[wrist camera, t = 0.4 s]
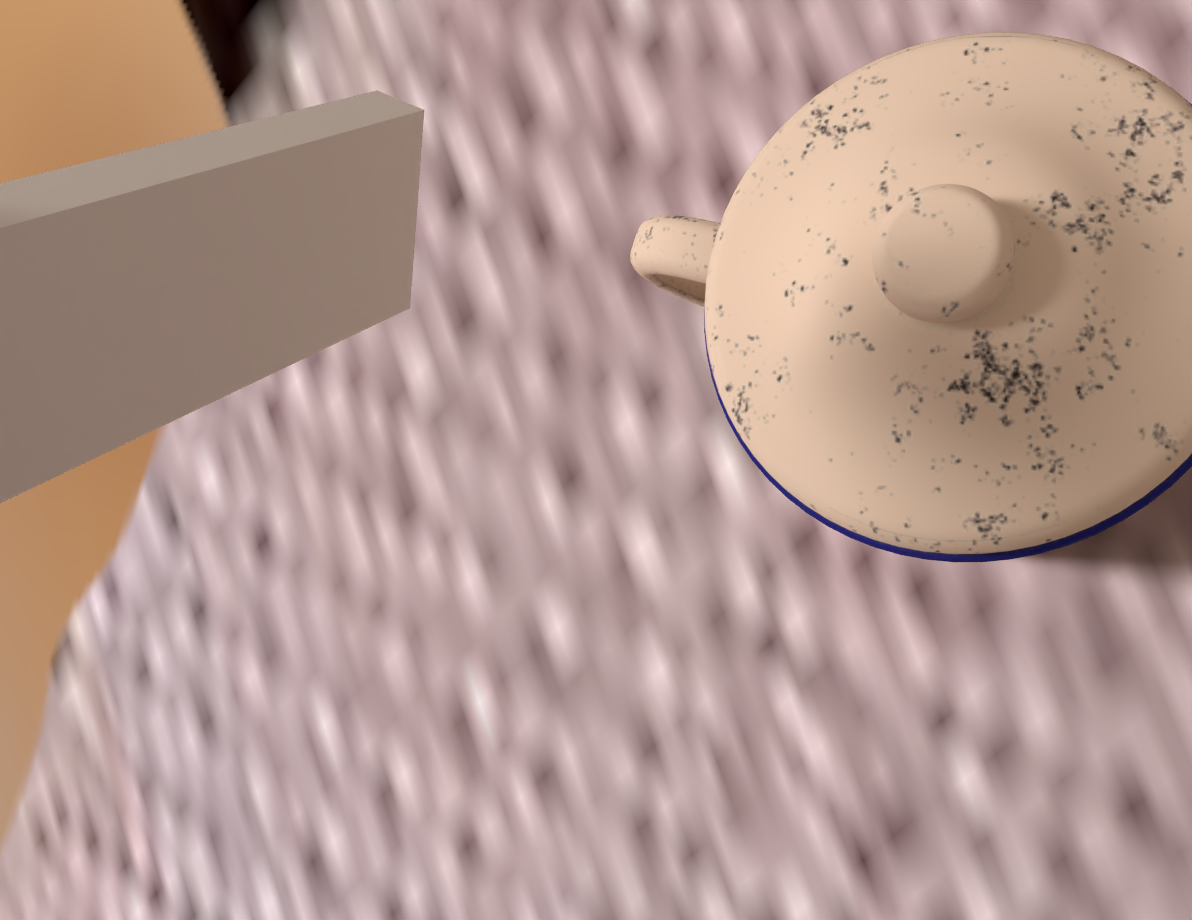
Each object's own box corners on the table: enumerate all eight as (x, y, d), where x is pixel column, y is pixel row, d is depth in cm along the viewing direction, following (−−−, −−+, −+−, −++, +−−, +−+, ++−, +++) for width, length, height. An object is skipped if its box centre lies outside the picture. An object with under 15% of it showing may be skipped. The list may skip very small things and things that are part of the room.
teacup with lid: (1260, 233, 24) (1417, -28, 13) (1128, 617, 24) (1178, 660, 14) (763, 140, 29) (588, -106, 18) (660, 461, 29) (428, 404, 19)
